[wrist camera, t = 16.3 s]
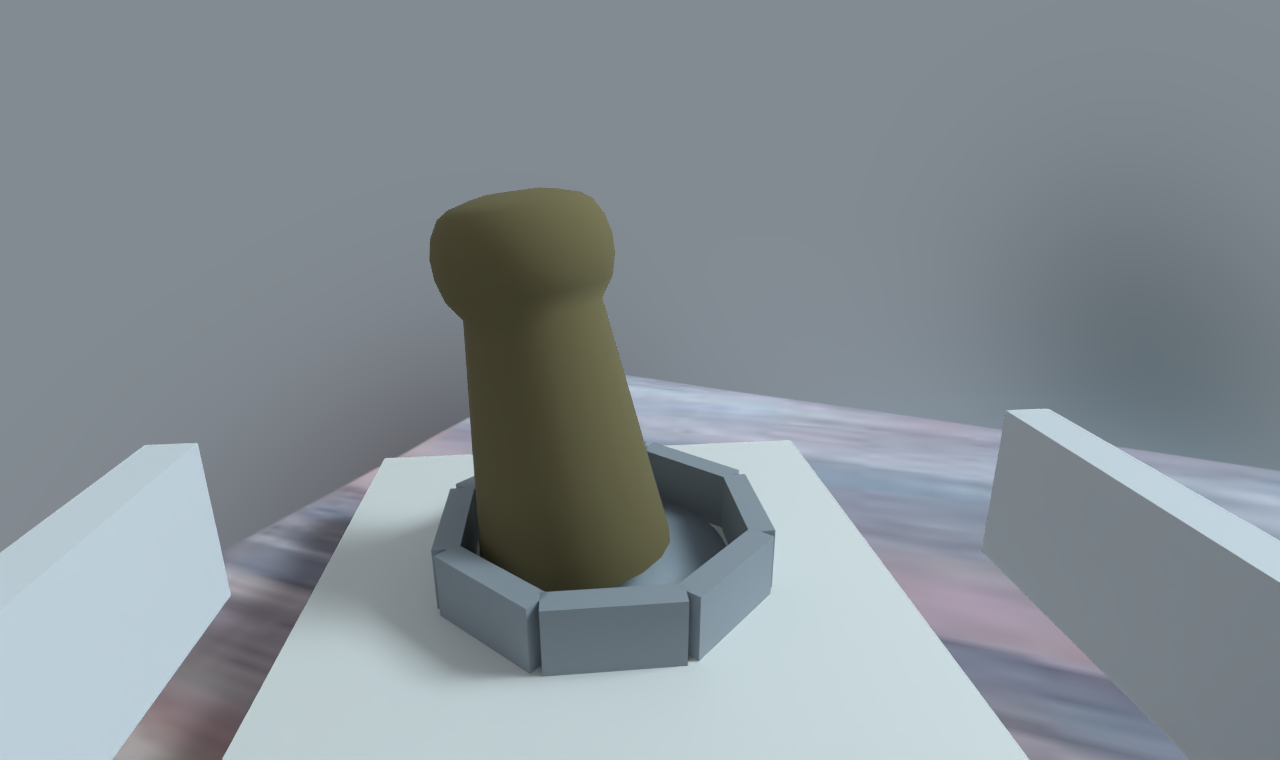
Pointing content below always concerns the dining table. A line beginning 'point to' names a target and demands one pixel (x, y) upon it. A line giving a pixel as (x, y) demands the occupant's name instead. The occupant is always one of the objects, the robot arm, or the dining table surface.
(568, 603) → the base plate
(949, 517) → the dining table surface
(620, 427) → the cork
